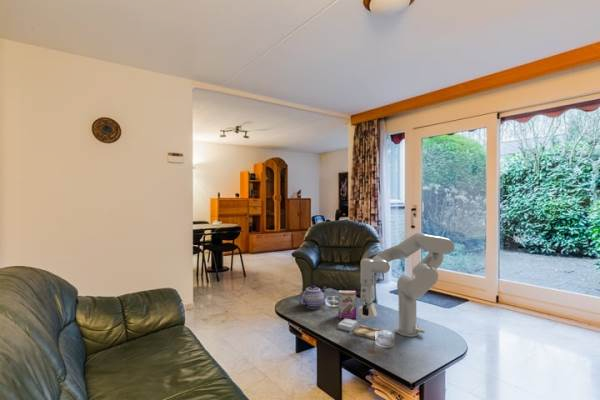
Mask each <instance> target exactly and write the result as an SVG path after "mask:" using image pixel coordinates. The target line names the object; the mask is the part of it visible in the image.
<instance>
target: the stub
mask: <svg viewBox="0 0 600 400" xmlns="http://www.w3.org/2000/svg"><path fill="white" fill-rule="evenodd" d="M358 313H359V314H360V317H361V319H362V320H364V319H371V318H376V316H377V315H378V312H377V309H376V306H375V304H374V303H372V304H369V305H368V316H366V315H363V308H362V305H361V306H360V307H358Z"/></svg>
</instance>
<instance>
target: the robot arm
mask: <svg viewBox="0 0 600 400" xmlns="http://www.w3.org/2000/svg"><path fill="white" fill-rule="evenodd" d="M419 250H422V251H427V255H426V256H425V257H424V258H422V259H421V261H419V262H418V263H417V264H416V265H415V266H414V267H413V269H412V270H411V271H412V275H413V276H414V277H413V276H410V275H407V274H406V275H405V274H403V275H401V276H400V277H399V278H398V279H397V282H396V286H397V287H396V288H397V295H398V325H397V326H396V327H395V331H396V333H397V334H399V335H401V336H403V337H410V338H412V337H417V336H420V333H421V334H425V333H426V332H425V331H426V330H425V329H424V328H423V327H420V326H419V324H418V323H417V321H418V320H417V299H420V298H421V297H423V295H425V294H426V293H427V292H428V291H429V290H430V289H431V288H432V287H434V286H435V284H436V283H437V282H438V279H439V273H438V270H437V269H438V268H439V267H440V266H441V265H442V263H443V261H444V255H448V254H449V255H450V254H451V253H453V251H454V250H455V243H454V242H453V241H452V240H451V239H450V238H448V237H443V236H439V235H430V234H425V233H423V232H416V233H414V234H412V235H411V236H409V237H407V238H406V239H404V240H403V241H401V242H400V243H398V244H396V245H394V246H392V247H388V248H386V249H383V250H382V251H380V252H379V253H378V254H376V255H374V256H373V257H372V258H369V257H368V258H367V257H366V258H362V259H361V260H360V281H359V283H360V302H361V306H362V308H363V315H366V316H368V305H369V304H373V301H375V297H376V296H375V295H376V294H375V273H376V274H387V273H388V272H389V271H390V267H391V265H390V262H392V261H395V260H402V259H407V258H409V257H410V256H412V255H413V254H415V253H417V252H418V251H419Z"/></svg>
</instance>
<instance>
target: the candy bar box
mask: <svg viewBox="0 0 600 400" xmlns="http://www.w3.org/2000/svg"><path fill="white" fill-rule="evenodd" d="M338 318H339V319H345V318H347V319H351V320H357V291H356V290H338Z"/></svg>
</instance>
